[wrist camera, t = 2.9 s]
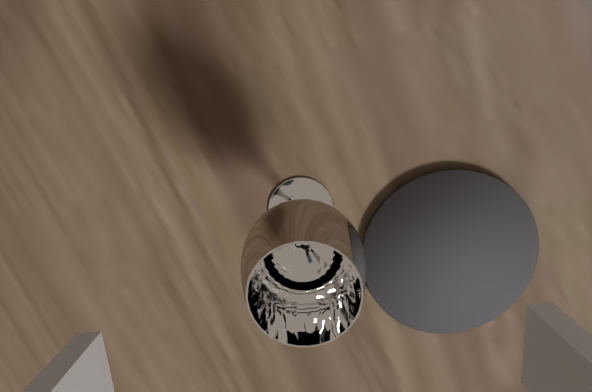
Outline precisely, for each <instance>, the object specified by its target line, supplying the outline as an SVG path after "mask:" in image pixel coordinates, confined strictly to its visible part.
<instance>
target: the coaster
mask: <svg viewBox="0 0 592 392" xmlns="http://www.w3.org/2000/svg"><path fill="white" fill-rule="evenodd" d="M363 248H364V253H365V259H366V282H367V285H368V287H369V290H370V292H371V294H372V295H373V297H374V299H375V300H376V302H377V303H378V304H379V305H380V307H381V308H382V309H383V310H384V311H385V312H386V313H387V314H388V315H389V316H391V317H392V318H394V319H395V320H397V321H398V322H400V323H402V324H404V325H406V326H408V327H410V328H413V329H416V330H420V331H424V332H430V333H455V332H461V331H466V330H470V329H473V328H475V327H478V326H481V325H483V324H485V323H487V322H489V321H491V320H493V319H494V318H496V317H497V316H499V315H500V314H502V313H503V312H504V311H505V310H507V309H508V308H509V307H510V306H511V305H512V304H513V303H514V302H515V301H516V300H517V299H518V298H519V296H520V295H521V294H522V292H523V291H524V290H525V288H526V286H527V285H528V283H529V281H530V279H531V277H532V274H533V272H534V269H535V266H536V262H537V257H538V251H539V238H538V231H537V226H536V223H535V220H534V217H533V215H532V213H531V211H530V209H529V207H528V206H527V204H526V203H525V201H524V200H523V199H522V198H521V197H520V195H519V194H518V193H517V192H516V191H514V190H513V189H512V188H511V187H510V186H508V185H507V184H505V183H503V182H502V181H500V180H498V179H496V178H494V177H491V176H489V175H486V174H484V173H480V172H477V171H473V170H465V169H446V170H439V171H434V172H431V173H427V174H424V175H422V176H419V177H417V178H414V179H412V180H411V181H409V182H407V183H405V184H403V185H402V186H401V187H399V188H398V189H397V190H395V191H394V192H393V193H392V194H391V195H390V196H389V197H387V198H386V199H385V201H384V202H383V203H382V204H381V205H380V207H379V208H378V209H377V211H376V212H375V214H374V215H373V217H372V219H371V221H370V223H369V225H368V227H367V230H366V233H365V236H364V240H363Z"/></svg>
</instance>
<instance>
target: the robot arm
mask: <svg viewBox="0 0 592 392" xmlns="http://www.w3.org/2000/svg"><path fill="white" fill-rule="evenodd" d="M521 382H522V383H523V385H524V386H525V387H526V389H527V390H528V391H529V392H592V335H591V334H590V333H589V332H587V331H586V330H585V329H584V328H583V327H581V326H580V325H579V324H578V323H576V322H575V321H574V320H573V319H572V318H570V317H569V316H568V315H567V314H566V313H564V312H563V311H562V310H561V309H559V308H558V307H557V306H556V305H555V304H553V303H537V304H527V305H526V320H525V334H524V348H523V362H522V376H521ZM23 392H114V387H113V383H112V378H111V374H110V369H109V365H108V360H107V356H106V351H105V347H104V342H103V338H102V333H101V332H86V333H77V334H76V335H75V336H74V337H73V338H72V339H71V340H70V341H69V342H68V343H67V344H66V346H65V347H64V348H63V349H62V350H61V351H60V352H59V353H58V354H57V355H56V356H55V357H54V358H53V359H52V361H51V362H50V363H49V364H48V365H47V366H46V367H45V368H44V369H43V370H42V371H41V372H40V373H39V374H38V376H37V377H36V378H35V379H34V380H33V381H32V382H31V383H30V384H29V385H28V386H27V387H26V388H25V389H24V391H23Z"/></svg>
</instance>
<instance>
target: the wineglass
mask: <svg viewBox="0 0 592 392" xmlns="http://www.w3.org/2000/svg"><path fill="white" fill-rule="evenodd" d="M241 281H242V287H243V292H244V297H245V301H246V305H247V308H248V310H249V313H250V316H251V317H252V319H253V321H254V322H255V324H256V325H257V326H258V327H259V328H260V330H261V331H262V332H263V333H265V334H266V335H267V336H269V337H270V338H272V339H273V340H275V341H278V342H280V343H282V344H285V345H289V346H294V347H315V346H319V345H324V344H326V343H329V342H331V341H333V340H335V339H337V338H338V337H340V336H341V335H342V334H344V333H345V332H347V330H348V329H349V328H350V327H351V326H352V325H353V323H354V322H355V321H356V319H357V317H358V316H359V313H360V311H361V308H362V304H363V299H364V292H365V286H366V259H365V253H364V248H363V245H362V242H361V239H360V237H359V235H358V233H357V231H356V229H355V228H354V226H353V225H352V223H351V222H350V221H349V220H348V219H347V218H346V217H345V216H344V215H343V214H342V213H341V212H340V211H338V210H337V209H335V208H334V207H333V201H332V198H331V195H330V193H329V192H328V190H327V189H326V188H325V187H324V186H323V185H322V184H321V183H319V182H317V181H316V180H313V179H310V178H305V177H296V178H292V179H288V180H286V181H284V182H283V183H281V184H280V185H279V186H278V187H277V188H276V189H275V190H274V191H273V193H272V195H271V197H270V200H269V205H268V211H267V212H265V213H264V214H263V215H262V216H261V217H260V218H259V219H258V220H257V221H256V223H255V224H254V225H253V227H252V228H251V230H250V231H249V234H248V236H247V238H246V241H245V244H244V247H243V251H242V256H241Z"/></svg>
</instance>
